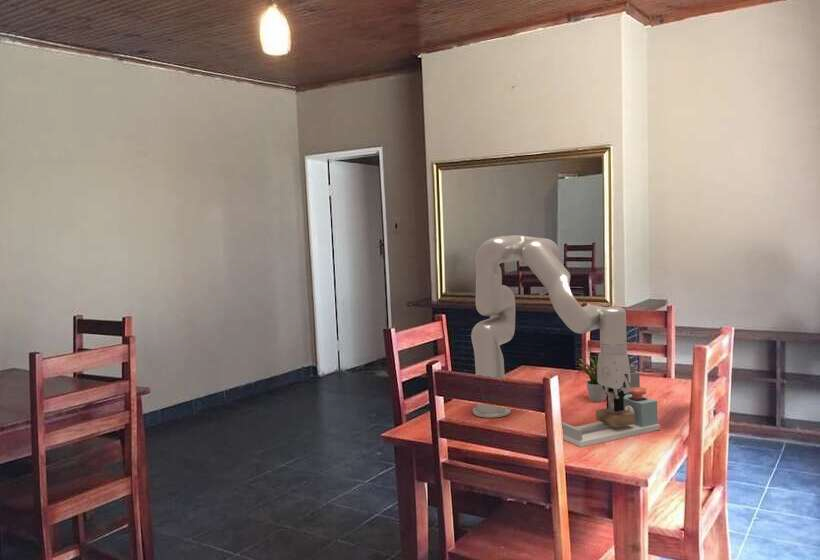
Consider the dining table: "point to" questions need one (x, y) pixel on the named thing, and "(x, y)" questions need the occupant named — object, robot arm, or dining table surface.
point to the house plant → (593, 382)
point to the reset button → (637, 392)
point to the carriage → (614, 414)
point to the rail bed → (601, 432)
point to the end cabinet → (642, 410)
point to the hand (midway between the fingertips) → (615, 409)
